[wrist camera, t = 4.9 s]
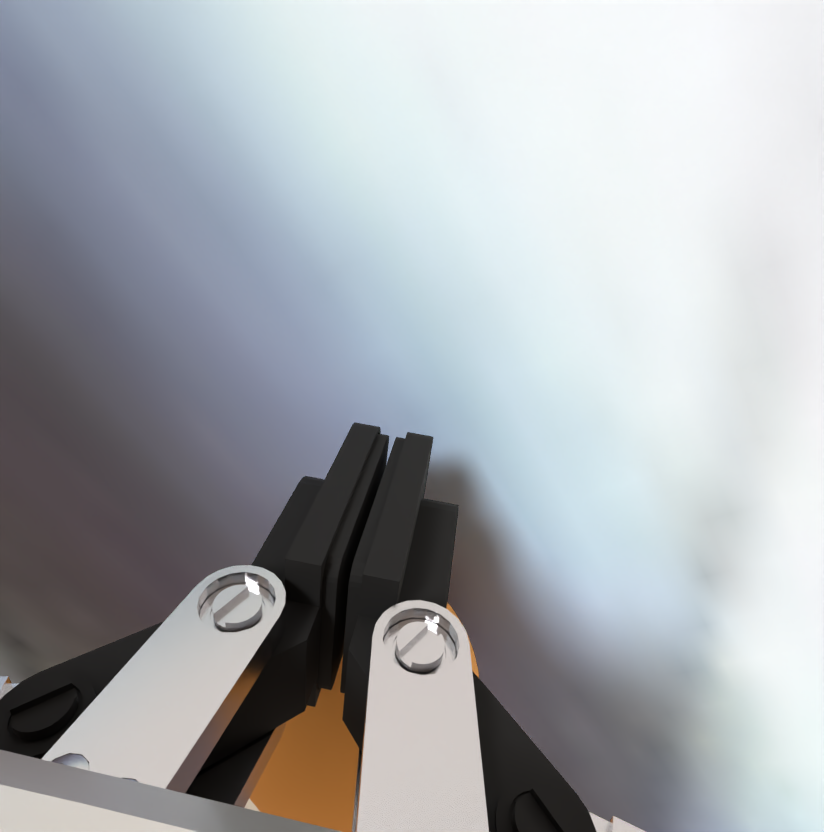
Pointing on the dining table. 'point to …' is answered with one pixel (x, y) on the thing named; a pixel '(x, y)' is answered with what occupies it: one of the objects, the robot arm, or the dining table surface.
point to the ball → (316, 764)
